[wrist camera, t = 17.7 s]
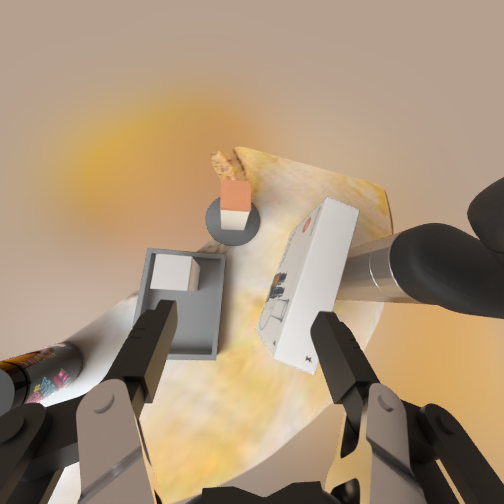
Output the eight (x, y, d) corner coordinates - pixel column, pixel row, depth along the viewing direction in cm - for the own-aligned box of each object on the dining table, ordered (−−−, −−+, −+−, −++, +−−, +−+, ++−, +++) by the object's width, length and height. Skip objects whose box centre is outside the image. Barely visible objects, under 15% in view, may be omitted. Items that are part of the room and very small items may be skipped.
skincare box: (287, 231, 40) (328, 193, 24) (310, 241, 40) (364, 210, 25) (251, 330, 34) (273, 360, 19) (278, 341, 35) (321, 379, 19)
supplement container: (33, 393, 28) (-74, 450, 18) (37, 345, 29) (-61, 373, 19) (84, 383, 29) (11, 431, 19) (86, 337, 30) (18, 360, 20)
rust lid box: (222, 208, 38) (221, 179, 28) (244, 209, 39) (251, 182, 29) (221, 229, 37) (220, 207, 27) (243, 230, 38) (250, 209, 28)
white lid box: (175, 264, 34) (156, 253, 25) (200, 266, 35) (191, 256, 25) (171, 289, 33) (150, 288, 24) (197, 291, 34) (187, 290, 24)
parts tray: (152, 251, 35) (147, 247, 32) (225, 257, 36) (225, 254, 34) (133, 353, 31) (126, 359, 28) (216, 355, 33) (216, 360, 30)
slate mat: (258, 197, 40) (258, 196, 40) (260, 246, 38) (260, 245, 37) (206, 194, 39) (206, 193, 38) (205, 245, 36) (204, 244, 36)
